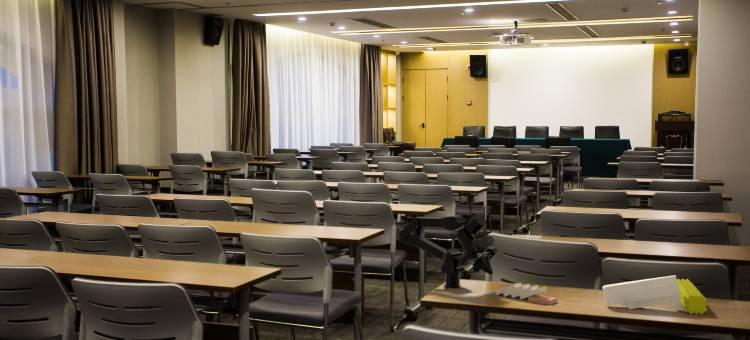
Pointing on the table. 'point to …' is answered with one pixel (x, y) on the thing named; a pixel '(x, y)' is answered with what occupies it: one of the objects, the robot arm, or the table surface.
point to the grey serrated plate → (509, 297)
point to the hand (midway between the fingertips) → (491, 274)
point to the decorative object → (691, 297)
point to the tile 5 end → (542, 299)
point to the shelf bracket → (644, 293)
